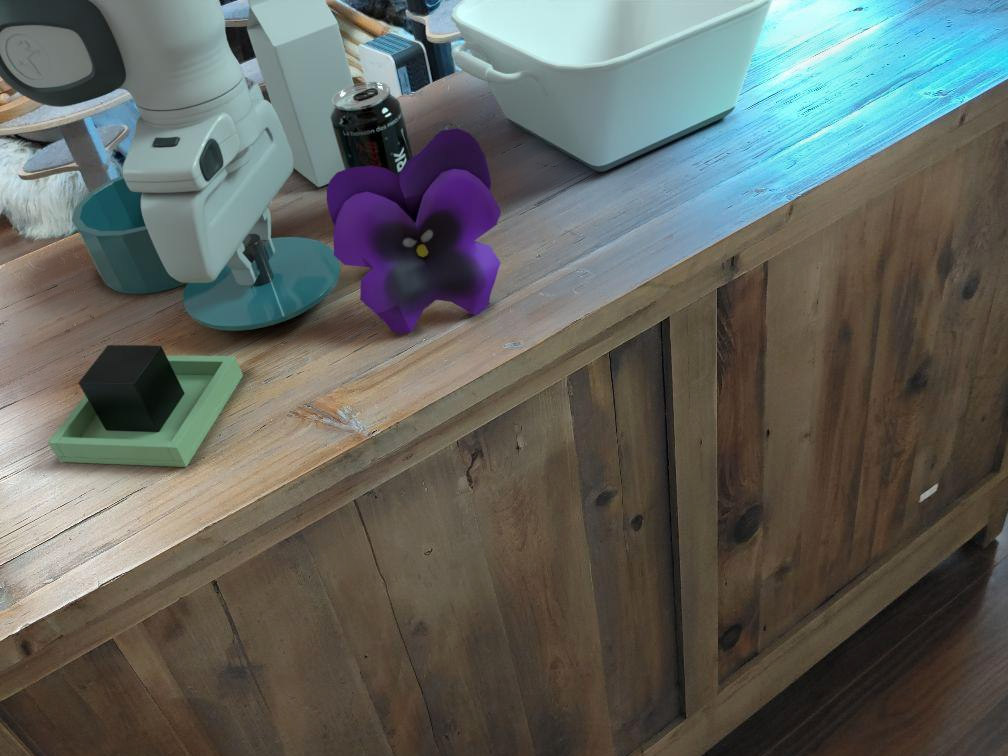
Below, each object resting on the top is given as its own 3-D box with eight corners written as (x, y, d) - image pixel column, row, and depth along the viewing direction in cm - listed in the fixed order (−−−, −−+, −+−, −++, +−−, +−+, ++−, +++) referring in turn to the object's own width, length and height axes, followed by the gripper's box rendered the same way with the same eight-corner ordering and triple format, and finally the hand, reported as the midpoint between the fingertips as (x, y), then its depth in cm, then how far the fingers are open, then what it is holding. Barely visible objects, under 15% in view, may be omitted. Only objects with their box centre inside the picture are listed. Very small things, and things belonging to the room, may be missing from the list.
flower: (361, 334, 98) (361, 348, 85) (312, 175, 93) (305, 164, 80) (505, 295, 99) (526, 303, 86) (464, 137, 94) (481, 120, 82)
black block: (105, 430, 83) (77, 382, 80) (133, 392, 86) (107, 344, 83) (159, 432, 82) (133, 383, 78) (185, 393, 85) (161, 345, 82)
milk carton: (375, 165, 111) (326, -21, 98) (318, 189, 109) (260, 2, 95) (347, 145, 116) (296, -36, 102) (292, 168, 114) (232, -13, 100)
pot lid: (160, 335, 91) (137, 286, 87) (225, 247, 100) (206, 200, 97) (310, 337, 88) (293, 287, 84) (362, 246, 97) (349, 197, 93)
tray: (59, 462, 82) (47, 442, 81) (125, 373, 90) (115, 354, 88) (186, 467, 79) (176, 447, 78) (243, 375, 87) (235, 355, 85)
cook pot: (77, 294, 101) (46, 236, 96) (139, 222, 109) (113, 166, 105) (199, 294, 97) (173, 234, 93) (253, 220, 106) (231, 162, 102)
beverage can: (435, 210, 102) (408, 92, 94) (376, 236, 100) (343, 118, 92) (405, 187, 107) (377, 72, 98) (348, 211, 105) (314, 96, 96)
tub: (559, 225, 97) (541, 92, 88) (427, 139, 114) (401, 20, 105) (821, 103, 107) (830, -28, 98) (665, 41, 124) (660, -76, 115)
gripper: (218, 69, 90) (267, 211, 100) (110, 184, 77) (179, 334, 87) (283, 66, 89) (326, 210, 99) (184, 182, 75) (246, 335, 85)
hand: (257, 269), depth 92 cm, fingers closed on pot lid, 2 cm apart
